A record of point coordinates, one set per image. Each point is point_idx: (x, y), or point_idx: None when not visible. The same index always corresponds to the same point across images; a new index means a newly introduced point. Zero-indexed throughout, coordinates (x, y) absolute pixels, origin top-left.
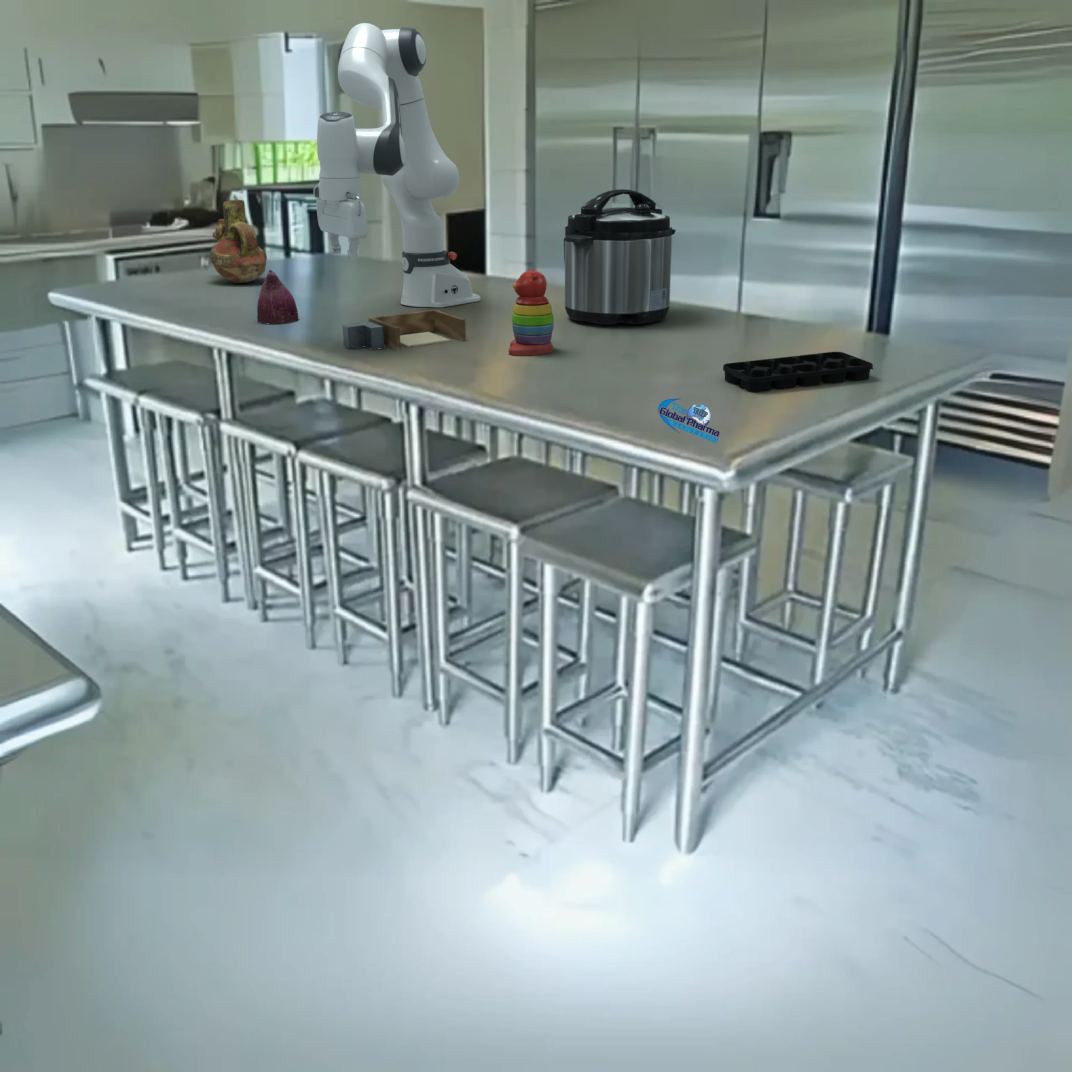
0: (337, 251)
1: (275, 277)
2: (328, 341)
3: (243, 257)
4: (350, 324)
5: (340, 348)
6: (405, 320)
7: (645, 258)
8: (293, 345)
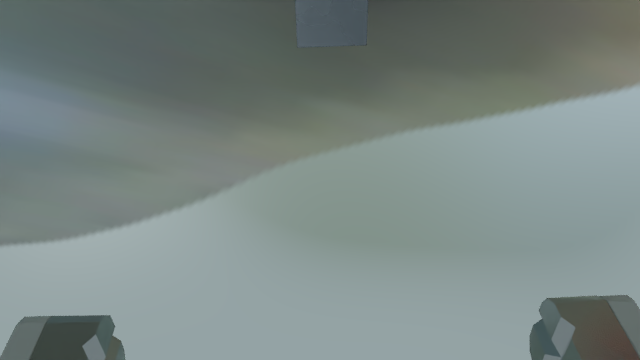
0: (102, 354)
1: None
2: (147, 22)
3: None
4: (303, 4)
5: None
6: None
7: None
8: (167, 155)
